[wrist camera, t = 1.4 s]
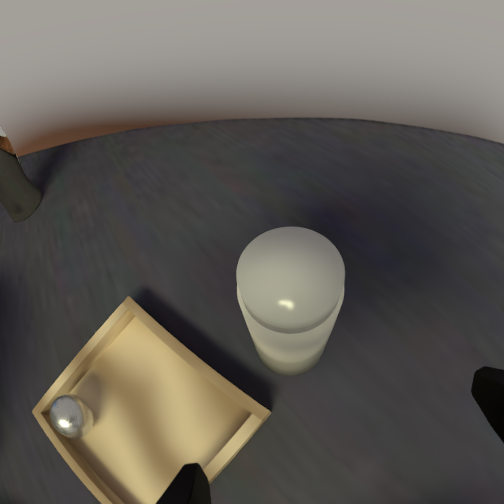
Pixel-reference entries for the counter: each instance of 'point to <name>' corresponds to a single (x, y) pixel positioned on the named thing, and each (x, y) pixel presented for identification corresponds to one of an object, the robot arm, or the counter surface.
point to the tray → (147, 411)
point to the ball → (71, 416)
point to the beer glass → (15, 184)
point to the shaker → (290, 296)
